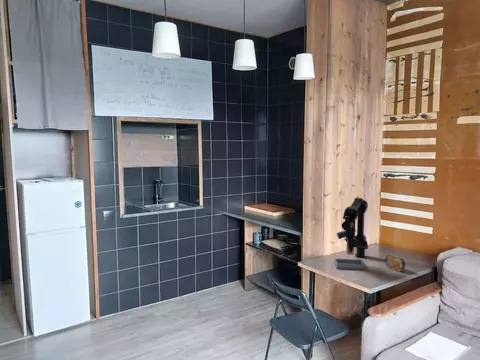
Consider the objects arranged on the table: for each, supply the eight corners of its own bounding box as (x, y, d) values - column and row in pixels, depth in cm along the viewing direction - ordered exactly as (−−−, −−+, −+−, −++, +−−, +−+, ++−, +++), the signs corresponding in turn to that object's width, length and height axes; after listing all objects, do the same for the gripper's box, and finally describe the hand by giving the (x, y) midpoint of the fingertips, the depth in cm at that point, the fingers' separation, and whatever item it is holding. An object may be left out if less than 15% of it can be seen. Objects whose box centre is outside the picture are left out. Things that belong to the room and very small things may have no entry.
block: (346, 252, 241) (346, 243, 240) (352, 252, 241) (352, 243, 240) (347, 254, 237) (347, 245, 237) (353, 254, 237) (353, 245, 236)
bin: (334, 263, 246) (334, 258, 245) (361, 264, 244) (361, 259, 243) (336, 268, 235) (336, 263, 235) (365, 270, 233) (365, 264, 233)
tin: (384, 266, 242) (384, 253, 241) (388, 265, 243) (388, 252, 242) (402, 273, 228) (402, 259, 227) (405, 272, 229) (406, 259, 228)
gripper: (335, 224, 247) (335, 247, 249) (339, 230, 229) (339, 255, 230) (352, 224, 246) (352, 247, 248) (358, 230, 228) (357, 255, 229)
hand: (349, 251), depth 239 cm, fingers closed on block, 4 cm apart
